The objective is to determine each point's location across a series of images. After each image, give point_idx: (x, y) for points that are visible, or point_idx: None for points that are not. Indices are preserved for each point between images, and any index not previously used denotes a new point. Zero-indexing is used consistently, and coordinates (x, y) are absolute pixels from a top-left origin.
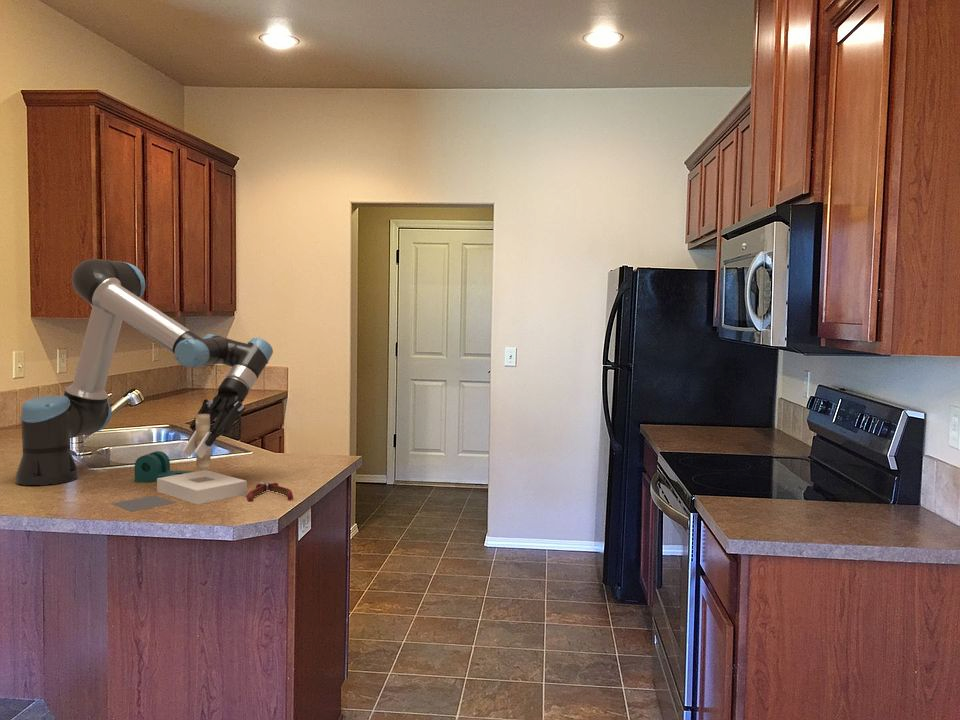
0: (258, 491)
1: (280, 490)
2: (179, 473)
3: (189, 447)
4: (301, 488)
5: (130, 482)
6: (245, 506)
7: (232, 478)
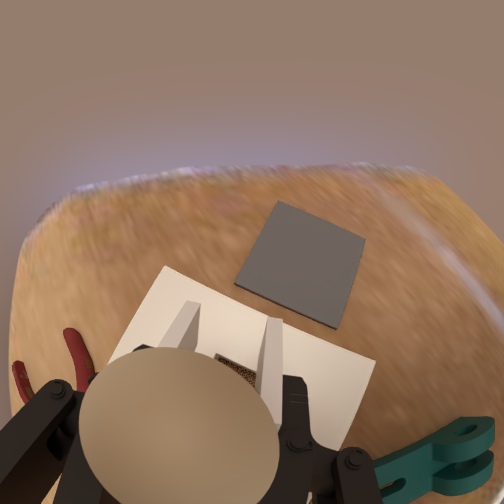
0: None
1: None
2: (398, 490)
3: (262, 349)
4: None
5: (464, 409)
6: (76, 306)
7: None
